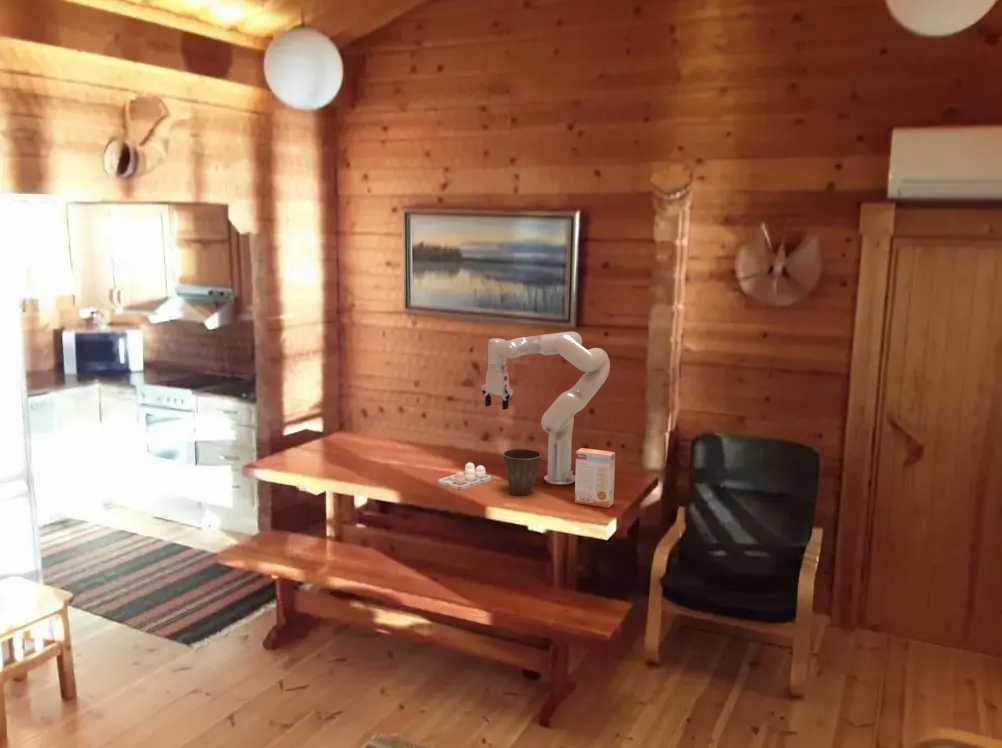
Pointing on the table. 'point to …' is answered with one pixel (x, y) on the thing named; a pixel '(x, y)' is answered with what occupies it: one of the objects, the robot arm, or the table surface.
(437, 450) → the table surface
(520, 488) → the plant pot
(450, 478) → the white egg tray
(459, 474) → the tan egg
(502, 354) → the robot arm
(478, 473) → the cream egg
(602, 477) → the cracker box
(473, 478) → the cream egg
